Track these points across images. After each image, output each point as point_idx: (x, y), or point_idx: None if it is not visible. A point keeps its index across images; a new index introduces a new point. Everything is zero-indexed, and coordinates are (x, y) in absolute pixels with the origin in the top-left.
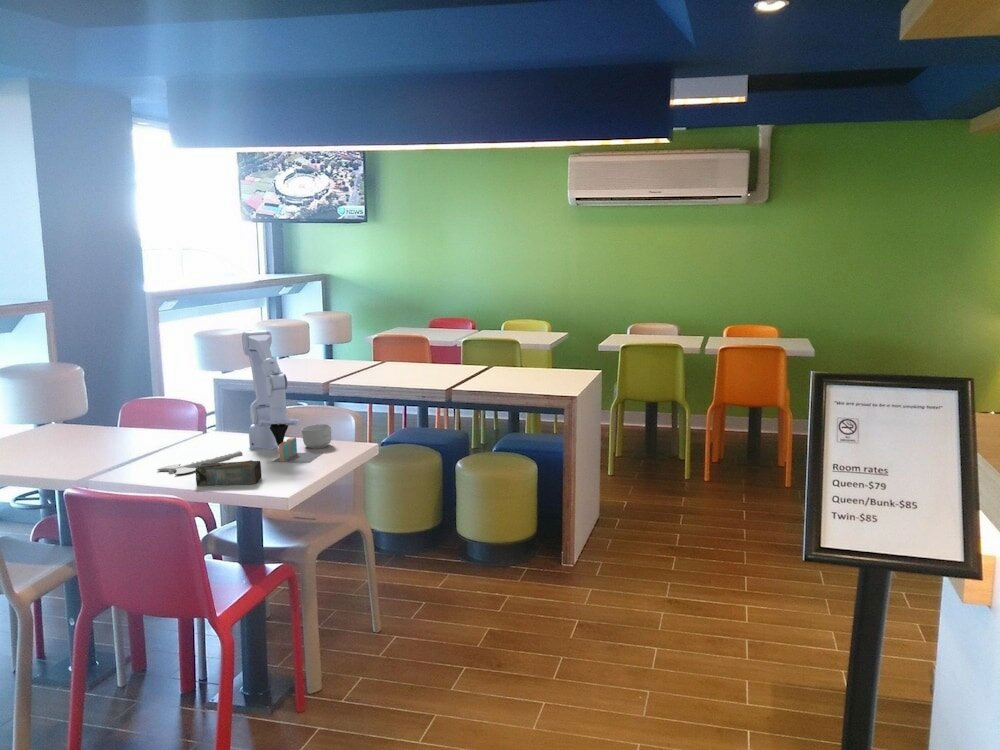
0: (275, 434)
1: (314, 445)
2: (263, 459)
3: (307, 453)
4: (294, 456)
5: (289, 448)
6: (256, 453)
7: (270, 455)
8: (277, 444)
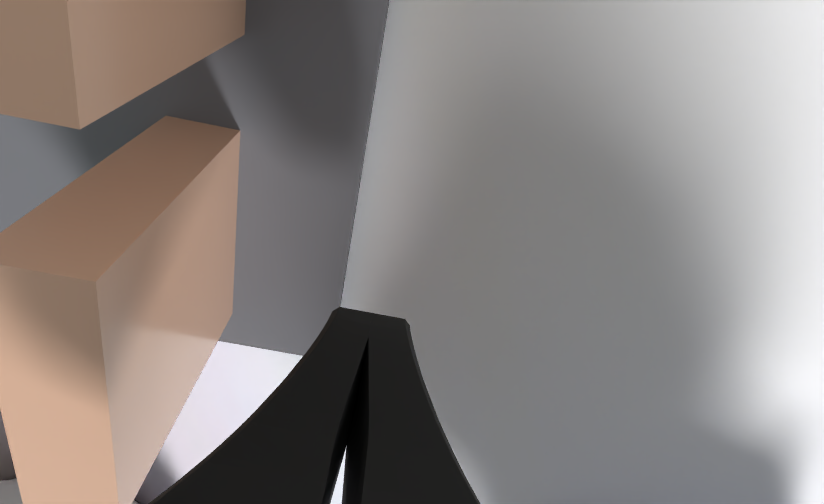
0: (413, 498)
1: (10, 488)
2: (627, 60)
3: None
4: (122, 120)
5: (130, 174)
6: (729, 407)
7: (537, 293)
8: (401, 327)
